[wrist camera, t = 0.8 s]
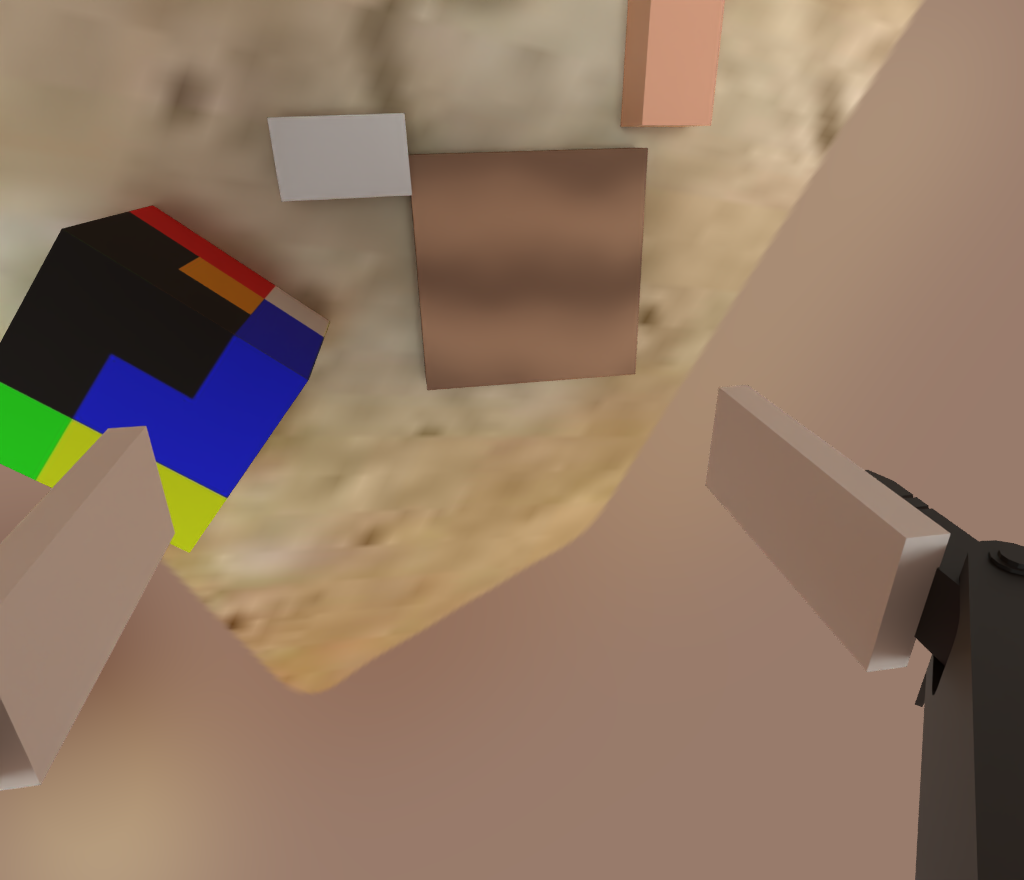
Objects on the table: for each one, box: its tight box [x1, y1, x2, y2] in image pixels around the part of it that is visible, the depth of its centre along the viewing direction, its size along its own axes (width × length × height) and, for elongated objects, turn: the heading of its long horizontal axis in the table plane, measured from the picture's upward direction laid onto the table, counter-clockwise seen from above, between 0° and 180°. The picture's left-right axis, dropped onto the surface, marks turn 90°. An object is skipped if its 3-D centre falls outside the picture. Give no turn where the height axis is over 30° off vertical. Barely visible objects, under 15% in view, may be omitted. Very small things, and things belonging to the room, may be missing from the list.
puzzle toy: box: [0, 205, 330, 553], centre depth 31 cm, size 10×10×10 cm
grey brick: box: [267, 113, 412, 202], centre depth 32 cm, size 6×4×4 cm, turn 92°
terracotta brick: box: [621, 0, 725, 127], centre depth 32 cm, size 6×4×4 cm, turn 0°
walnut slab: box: [408, 148, 648, 390], centre depth 36 cm, size 12×12×2 cm
